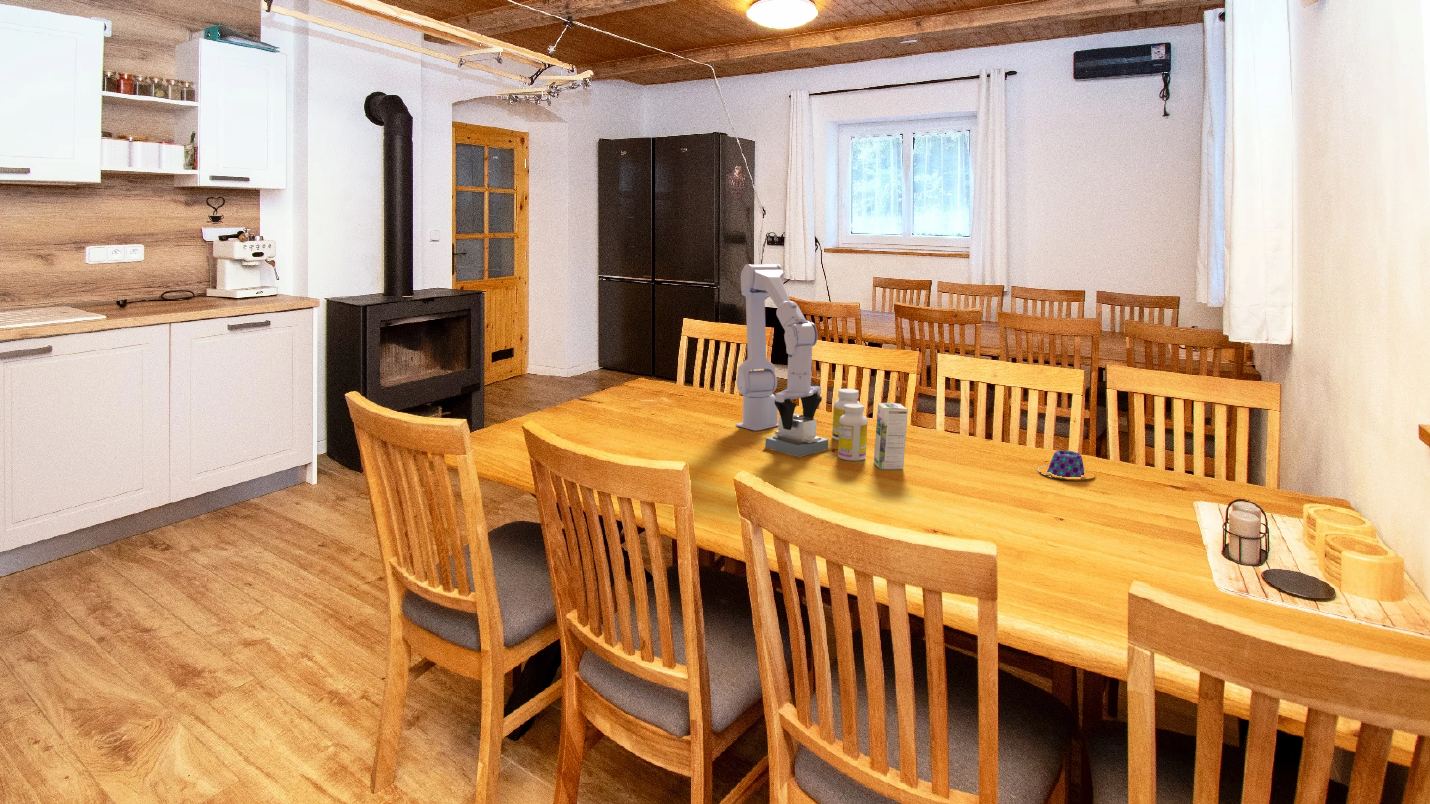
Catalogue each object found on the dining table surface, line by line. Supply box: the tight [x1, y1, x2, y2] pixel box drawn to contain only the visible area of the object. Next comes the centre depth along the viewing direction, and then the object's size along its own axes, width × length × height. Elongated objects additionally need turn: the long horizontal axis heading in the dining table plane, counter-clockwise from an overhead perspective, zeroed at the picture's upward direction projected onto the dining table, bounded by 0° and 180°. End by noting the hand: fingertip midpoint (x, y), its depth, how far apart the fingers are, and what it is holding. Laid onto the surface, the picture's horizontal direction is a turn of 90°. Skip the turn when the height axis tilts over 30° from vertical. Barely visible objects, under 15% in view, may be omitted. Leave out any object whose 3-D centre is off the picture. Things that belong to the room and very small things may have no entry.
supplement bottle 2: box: [837, 404, 868, 462], centre depth 200 cm, size 7×7×13 cm
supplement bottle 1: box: [831, 388, 862, 441], centre depth 217 cm, size 7×7×13 cm
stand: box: [764, 434, 829, 458], centre depth 209 cm, size 11×11×3 cm
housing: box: [774, 413, 820, 443], centre depth 208 cm, size 5×11×6 cm, turn 42°
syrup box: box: [873, 402, 909, 470], centre depth 194 cm, size 6×6×14 cm
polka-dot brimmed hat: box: [1037, 450, 1085, 478], centre depth 191 cm, size 12×12×5 cm
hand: (797, 426), depth 208 cm, fingers open, 7 cm apart
